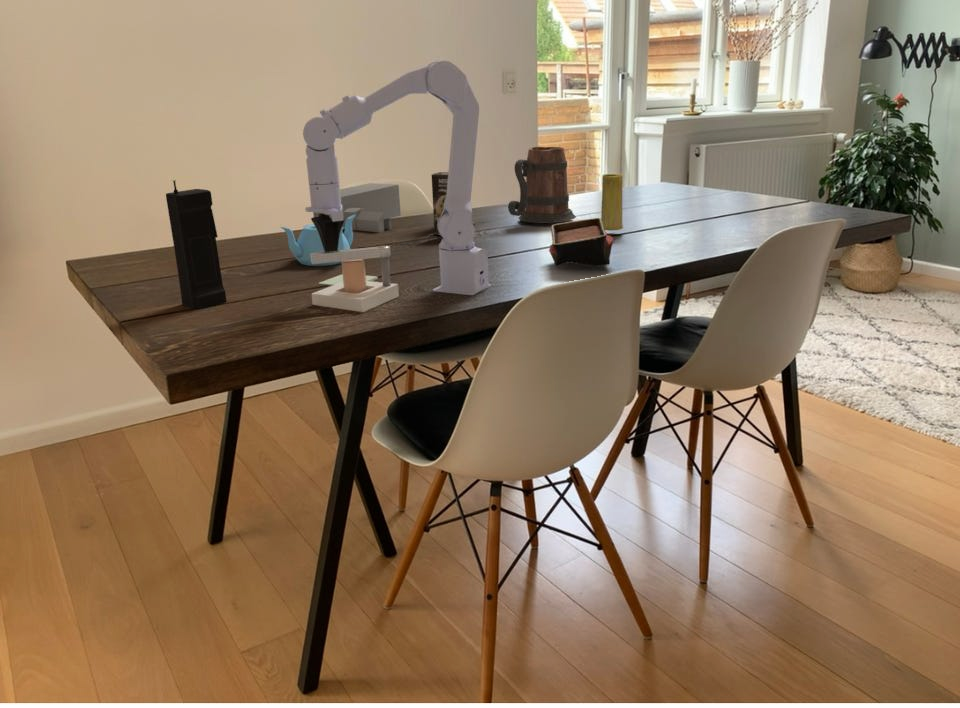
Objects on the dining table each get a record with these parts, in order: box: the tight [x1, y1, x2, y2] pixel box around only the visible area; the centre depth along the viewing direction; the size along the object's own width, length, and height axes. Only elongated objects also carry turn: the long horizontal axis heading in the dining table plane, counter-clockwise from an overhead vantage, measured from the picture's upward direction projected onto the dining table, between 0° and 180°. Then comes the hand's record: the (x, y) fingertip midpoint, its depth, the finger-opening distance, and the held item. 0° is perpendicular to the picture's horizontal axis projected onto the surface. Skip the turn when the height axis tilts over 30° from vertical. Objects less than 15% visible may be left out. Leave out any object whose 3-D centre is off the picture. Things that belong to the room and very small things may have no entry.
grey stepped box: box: [312, 182, 402, 233], centre depth 233 cm, size 25×23×11 cm
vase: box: [600, 173, 624, 231], centre depth 218 cm, size 6×6×14 cm
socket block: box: [311, 256, 400, 313], centre depth 159 cm, size 12×12×8 cm
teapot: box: [280, 215, 356, 267], centre depth 193 cm, size 15×15×10 cm
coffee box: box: [431, 171, 449, 235], centre depth 220 cm, size 9×6×16 cm
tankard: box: [507, 146, 576, 224], centre depth 235 cm, size 24×17×20 cm
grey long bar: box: [311, 245, 391, 264], centre depth 157 cm, size 15×2×2 cm, turn 107°
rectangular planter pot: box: [548, 217, 614, 267], centre depth 184 cm, size 14×18×10 cm
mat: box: [318, 273, 379, 287], centre depth 175 cm, size 9×9×1 cm
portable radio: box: [165, 179, 227, 310], centre depth 156 cm, size 8×6×25 cm
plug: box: [340, 259, 367, 294], centre depth 159 cm, size 4×4×8 cm
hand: (331, 252), depth 160 cm, fingers closed
